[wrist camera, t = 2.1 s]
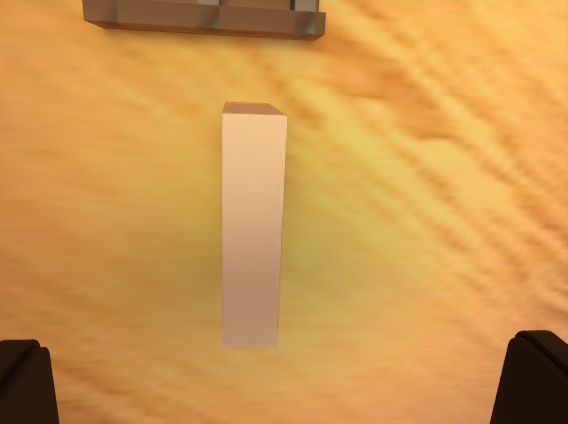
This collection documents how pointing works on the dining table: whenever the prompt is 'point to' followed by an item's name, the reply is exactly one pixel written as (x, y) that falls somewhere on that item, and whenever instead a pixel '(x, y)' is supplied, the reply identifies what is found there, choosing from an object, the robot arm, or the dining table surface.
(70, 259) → the dining table surface
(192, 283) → the dining table surface
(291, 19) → the dark wooden tray
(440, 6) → the dining table surface
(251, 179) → the door panel
